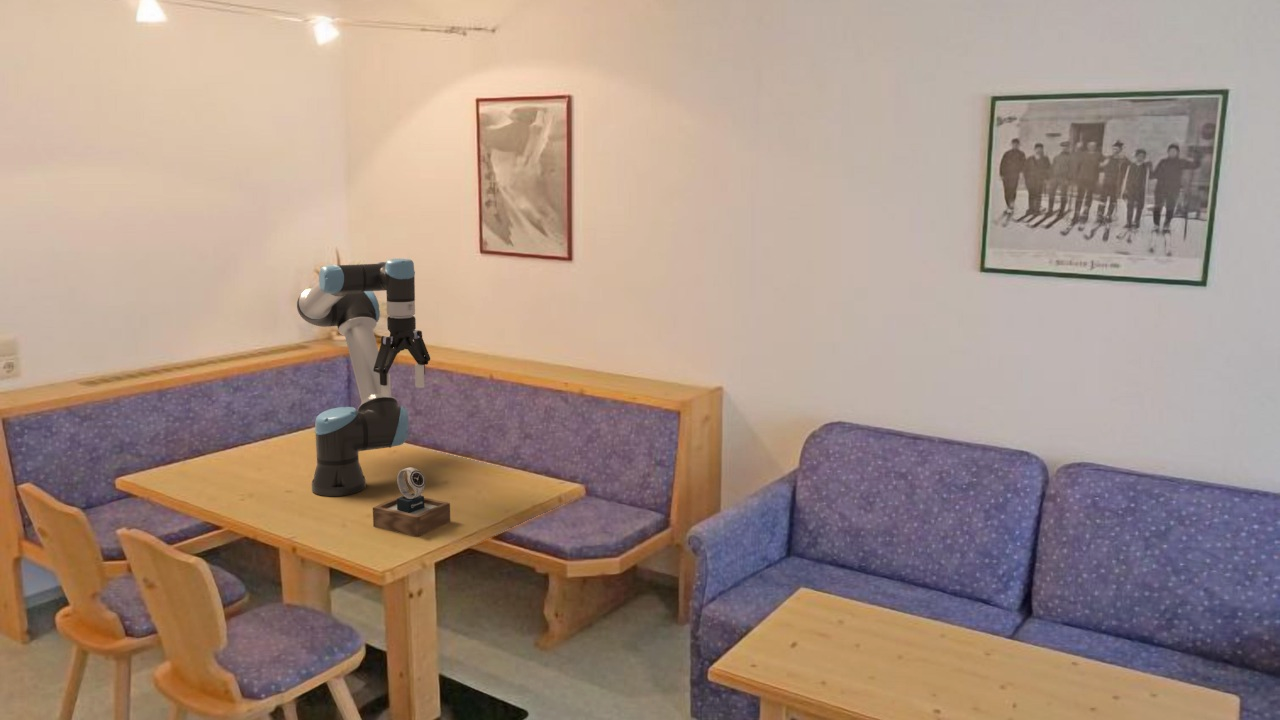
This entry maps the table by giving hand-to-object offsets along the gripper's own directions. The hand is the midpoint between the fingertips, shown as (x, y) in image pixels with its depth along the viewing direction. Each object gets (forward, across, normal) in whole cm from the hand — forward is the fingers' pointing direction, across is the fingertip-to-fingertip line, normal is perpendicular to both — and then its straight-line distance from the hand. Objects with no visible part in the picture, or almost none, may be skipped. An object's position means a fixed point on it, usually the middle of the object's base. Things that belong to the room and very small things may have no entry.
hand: (403, 392), depth 276 cm
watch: (+27, -14, -14) cm, 34 cm away
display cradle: (+31, -14, -14) cm, 37 cm away
